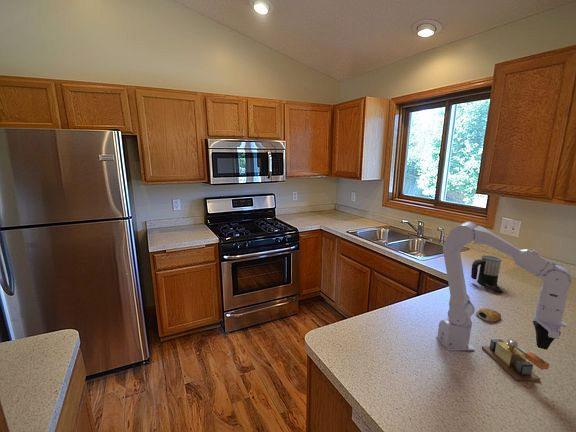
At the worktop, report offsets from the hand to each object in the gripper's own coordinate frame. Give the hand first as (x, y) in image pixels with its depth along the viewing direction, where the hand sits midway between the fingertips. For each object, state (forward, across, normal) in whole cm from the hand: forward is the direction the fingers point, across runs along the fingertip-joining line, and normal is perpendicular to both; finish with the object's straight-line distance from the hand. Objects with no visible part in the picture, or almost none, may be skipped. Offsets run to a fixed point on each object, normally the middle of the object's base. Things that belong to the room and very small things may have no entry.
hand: (541, 347), depth 84 cm
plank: (+10, +3, +6) cm, 12 cm away
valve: (+10, +3, +6) cm, 12 cm away
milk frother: (+10, +72, +6) cm, 73 cm away
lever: (+3, -1, +4) cm, 5 cm away
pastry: (+10, +33, +10) cm, 36 cm away
